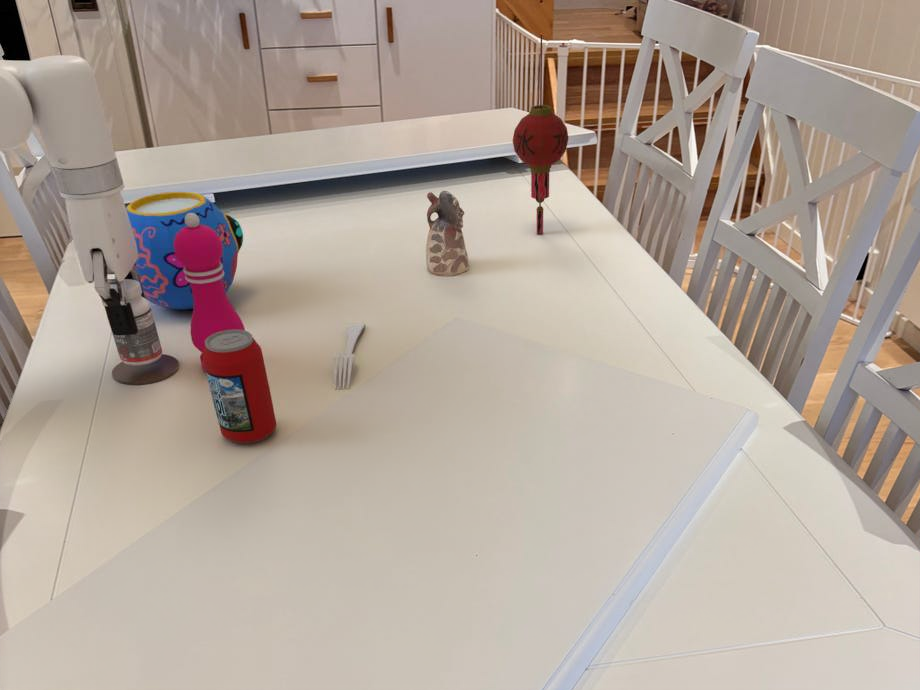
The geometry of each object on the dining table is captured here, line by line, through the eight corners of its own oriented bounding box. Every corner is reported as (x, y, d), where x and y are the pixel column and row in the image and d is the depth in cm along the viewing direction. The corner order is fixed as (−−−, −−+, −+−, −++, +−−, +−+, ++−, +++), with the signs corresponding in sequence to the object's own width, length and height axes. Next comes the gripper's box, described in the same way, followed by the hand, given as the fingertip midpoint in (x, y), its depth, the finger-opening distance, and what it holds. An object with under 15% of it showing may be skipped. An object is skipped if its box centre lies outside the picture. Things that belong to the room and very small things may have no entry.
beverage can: (211, 434, 112) (187, 340, 104) (257, 415, 115) (237, 322, 107) (242, 453, 108) (219, 357, 100) (288, 432, 111) (270, 337, 103)
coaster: (105, 386, 123) (104, 384, 122) (121, 358, 129) (120, 355, 129) (172, 382, 123) (171, 380, 123) (184, 354, 130) (183, 351, 129)
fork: (368, 340, 137) (366, 321, 135) (352, 389, 120) (349, 368, 118) (349, 341, 137) (347, 322, 135) (330, 389, 120) (328, 369, 118)
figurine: (469, 275, 149) (465, 196, 141) (425, 277, 149) (420, 198, 141) (469, 260, 154) (466, 183, 146) (427, 261, 155) (422, 185, 147)
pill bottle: (114, 357, 125) (91, 285, 119) (152, 345, 128) (132, 273, 121) (131, 370, 122) (109, 296, 115) (170, 358, 125) (150, 285, 118)
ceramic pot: (270, 294, 146) (252, 194, 136) (186, 334, 135) (159, 228, 125) (195, 275, 153) (172, 179, 144) (110, 311, 143) (79, 210, 133)
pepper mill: (189, 375, 125) (149, 221, 111) (213, 352, 130) (178, 203, 117) (238, 379, 123) (203, 223, 110) (260, 356, 128) (229, 205, 115)
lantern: (577, 231, 163) (583, 32, 143) (542, 246, 158) (544, 42, 138) (537, 221, 168) (538, 28, 148) (502, 235, 163) (499, 36, 143)
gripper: (77, 160, 116) (118, 301, 128) (35, 200, 103) (86, 353, 115) (136, 157, 116) (172, 298, 128) (102, 197, 103) (146, 349, 115)
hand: (131, 322), depth 122 cm, fingers closed on pill bottle, 5 cm apart
